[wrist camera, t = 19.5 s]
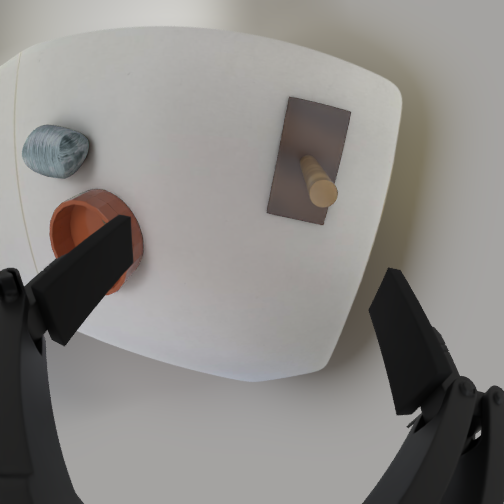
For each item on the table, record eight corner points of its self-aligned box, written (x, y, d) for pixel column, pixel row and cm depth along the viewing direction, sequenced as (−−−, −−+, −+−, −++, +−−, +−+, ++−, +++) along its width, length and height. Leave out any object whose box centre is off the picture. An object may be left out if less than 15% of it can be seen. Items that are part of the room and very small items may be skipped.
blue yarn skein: (92, 121, 31) (37, 158, 25) (100, 168, 39) (56, 204, 33) (55, 105, 32) (10, 134, 27) (64, 145, 40) (25, 174, 35)
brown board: (288, 97, 30) (289, 96, 29) (348, 112, 30) (351, 111, 29) (267, 209, 38) (266, 213, 37) (322, 221, 38) (323, 225, 36)
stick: (301, 153, 32) (312, 176, 19) (318, 157, 32) (341, 183, 19) (298, 169, 33) (306, 204, 20) (314, 173, 33) (333, 210, 20)
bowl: (65, 184, 40) (44, 195, 34) (143, 195, 39) (123, 208, 34) (75, 266, 48) (59, 281, 43) (145, 286, 47) (131, 306, 42)
